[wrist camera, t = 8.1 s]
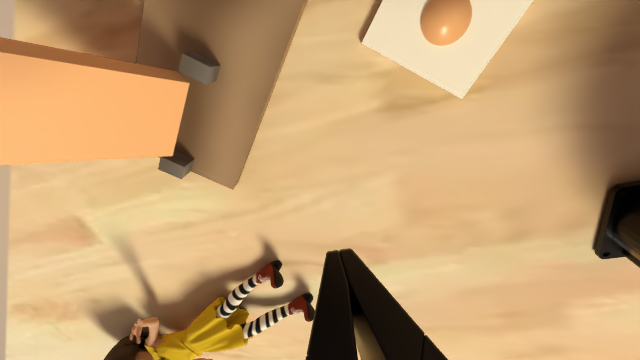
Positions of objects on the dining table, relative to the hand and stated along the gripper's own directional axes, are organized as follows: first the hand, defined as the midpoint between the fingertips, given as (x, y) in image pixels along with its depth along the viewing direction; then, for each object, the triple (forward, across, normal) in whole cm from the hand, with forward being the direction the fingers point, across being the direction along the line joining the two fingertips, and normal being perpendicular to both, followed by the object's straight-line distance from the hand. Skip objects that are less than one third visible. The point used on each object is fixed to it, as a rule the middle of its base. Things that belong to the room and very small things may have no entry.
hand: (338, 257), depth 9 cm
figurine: (+11, +12, +21) cm, 27 cm away
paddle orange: (+11, +8, -1) cm, 14 cm away
